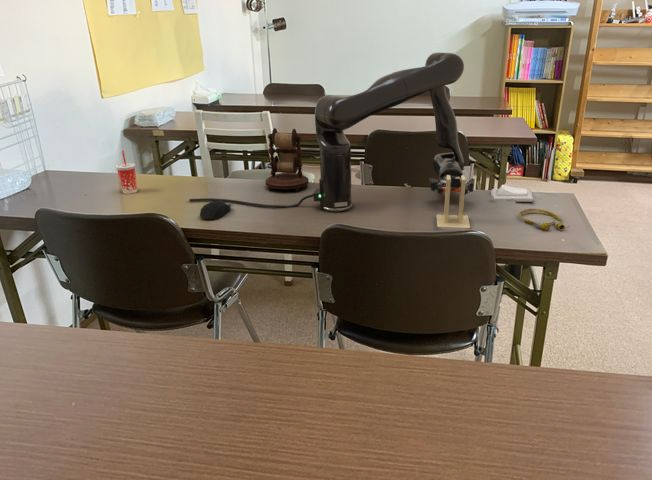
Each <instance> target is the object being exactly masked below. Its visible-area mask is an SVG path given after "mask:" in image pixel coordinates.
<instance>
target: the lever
mask: <svg viewBox="0 0 652 480" xmlns="http://www.w3.org/2000/svg"><path fill="white" fill-rule="evenodd" d="M445 191H446V187H443V193H445ZM450 193H460V179H452V180H451V187H450Z"/></svg>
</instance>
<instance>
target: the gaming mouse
mask: <svg viewBox="0 0 652 480" xmlns="http://www.w3.org/2000/svg"><path fill="white" fill-rule="evenodd" d="M231 205H232V204H231V203H229V204H228V203H227V202H226V203H225V201H221V200H220V201H217V200H216V201H210V202H207V203H206V204H204V205H203V206H202V207H201V209H200V212H199V217H200V218H202V219H205V220H214V219H219V218H222V217H223V216H224V215H226V214H227V213H229V212H230V211H231Z"/></svg>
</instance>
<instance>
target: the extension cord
mask: <svg viewBox="0 0 652 480" xmlns="http://www.w3.org/2000/svg"><path fill="white" fill-rule="evenodd" d="M527 214H538V215H539V214H540V215H546V216H550V217H553V218H556V220H554V221H551V222H543V221H538V220H535V221H533V220H530V219H528V218H524V217H523V216H524V215H527ZM518 216H519V217H520V218H522V219H523V221H524V223H526V224H527V225H533V226H536V227H537V228H538V229H541V230H543V231H549V230H550V229H551V226H554V227H555V228H556V229H558V230H560V231H564V230H565V225H564V224H563V222H562V221H561V219H560V216H559V215H557V214H555V213H554V212H551V211H548V210H544V209H540V208H526V209H522V210H520V211H519V212H518Z"/></svg>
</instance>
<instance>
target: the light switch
mask: <svg viewBox="0 0 652 480" xmlns="http://www.w3.org/2000/svg"><path fill="white" fill-rule="evenodd" d="M490 196H491V197H493V199H495V200H496V199H498V200H514V202H518V203H519V202H527V203H528V202H529V203H530V202H531V203H533V202H534V196H533V193H532V189H531V188H522V187H511V186H509V185H507V184H502V185H500V187H499V188H492V189H491V190H490Z"/></svg>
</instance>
